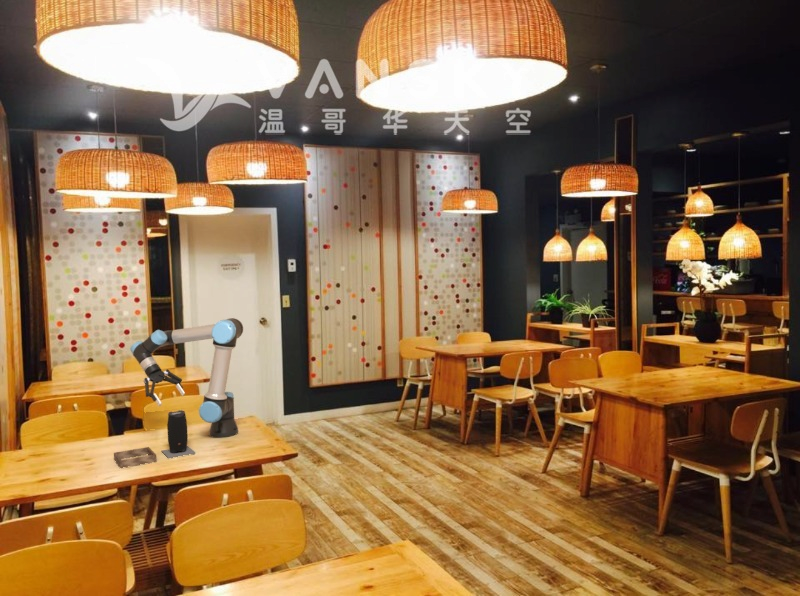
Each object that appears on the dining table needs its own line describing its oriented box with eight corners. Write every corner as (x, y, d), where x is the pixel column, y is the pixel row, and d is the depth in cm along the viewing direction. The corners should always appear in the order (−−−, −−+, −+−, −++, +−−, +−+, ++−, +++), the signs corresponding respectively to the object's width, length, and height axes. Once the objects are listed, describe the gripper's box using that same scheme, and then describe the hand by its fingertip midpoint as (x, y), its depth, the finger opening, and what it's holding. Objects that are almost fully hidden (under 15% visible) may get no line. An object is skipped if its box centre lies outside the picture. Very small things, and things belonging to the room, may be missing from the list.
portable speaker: (185, 453, 312) (183, 413, 311) (166, 454, 311) (164, 414, 310) (190, 448, 321) (188, 409, 319) (171, 449, 320) (169, 410, 319)
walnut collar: (149, 453, 316) (148, 446, 316) (156, 462, 303) (156, 454, 302) (114, 459, 307) (113, 452, 307) (120, 468, 294) (119, 461, 294)
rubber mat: (188, 447, 325) (187, 446, 325) (195, 454, 314) (195, 452, 314) (161, 452, 318) (161, 450, 318) (167, 459, 307) (167, 457, 307)
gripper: (170, 363, 347) (191, 394, 342) (127, 380, 329) (148, 412, 323) (173, 355, 342) (195, 386, 337) (130, 372, 324) (151, 405, 319)
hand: (172, 399), depth 330 cm, fingers open, 13 cm apart
